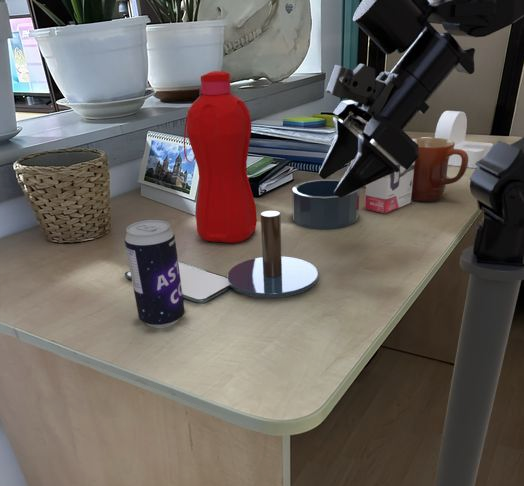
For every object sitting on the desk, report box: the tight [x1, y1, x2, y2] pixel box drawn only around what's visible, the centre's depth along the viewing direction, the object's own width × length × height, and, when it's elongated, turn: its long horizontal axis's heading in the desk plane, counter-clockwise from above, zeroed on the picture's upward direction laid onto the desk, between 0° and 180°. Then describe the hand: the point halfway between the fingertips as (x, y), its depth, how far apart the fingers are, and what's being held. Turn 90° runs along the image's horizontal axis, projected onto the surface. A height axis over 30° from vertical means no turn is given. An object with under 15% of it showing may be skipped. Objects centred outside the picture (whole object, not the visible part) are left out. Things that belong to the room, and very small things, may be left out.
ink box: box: [364, 138, 417, 214], centre depth 99 cm, size 8×5×12 cm, turn 134°
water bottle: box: [183, 70, 258, 244], centre depth 86 cm, size 9×11×25 cm
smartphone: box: [124, 261, 233, 304], centre depth 77 cm, size 8×1×16 cm
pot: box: [291, 178, 361, 230], centre depth 97 cm, size 12×12×5 cm
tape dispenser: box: [421, 110, 494, 169], centre depth 128 cm, size 10×18×11 cm, turn 51°
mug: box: [411, 137, 468, 203], centre depth 102 cm, size 12×9×10 cm
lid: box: [226, 210, 319, 299], centre depth 74 cm, size 13×13×10 cm
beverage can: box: [124, 219, 186, 329], centre depth 65 cm, size 6×6×12 cm
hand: (328, 185), depth 71 cm, fingers open, 9 cm apart
